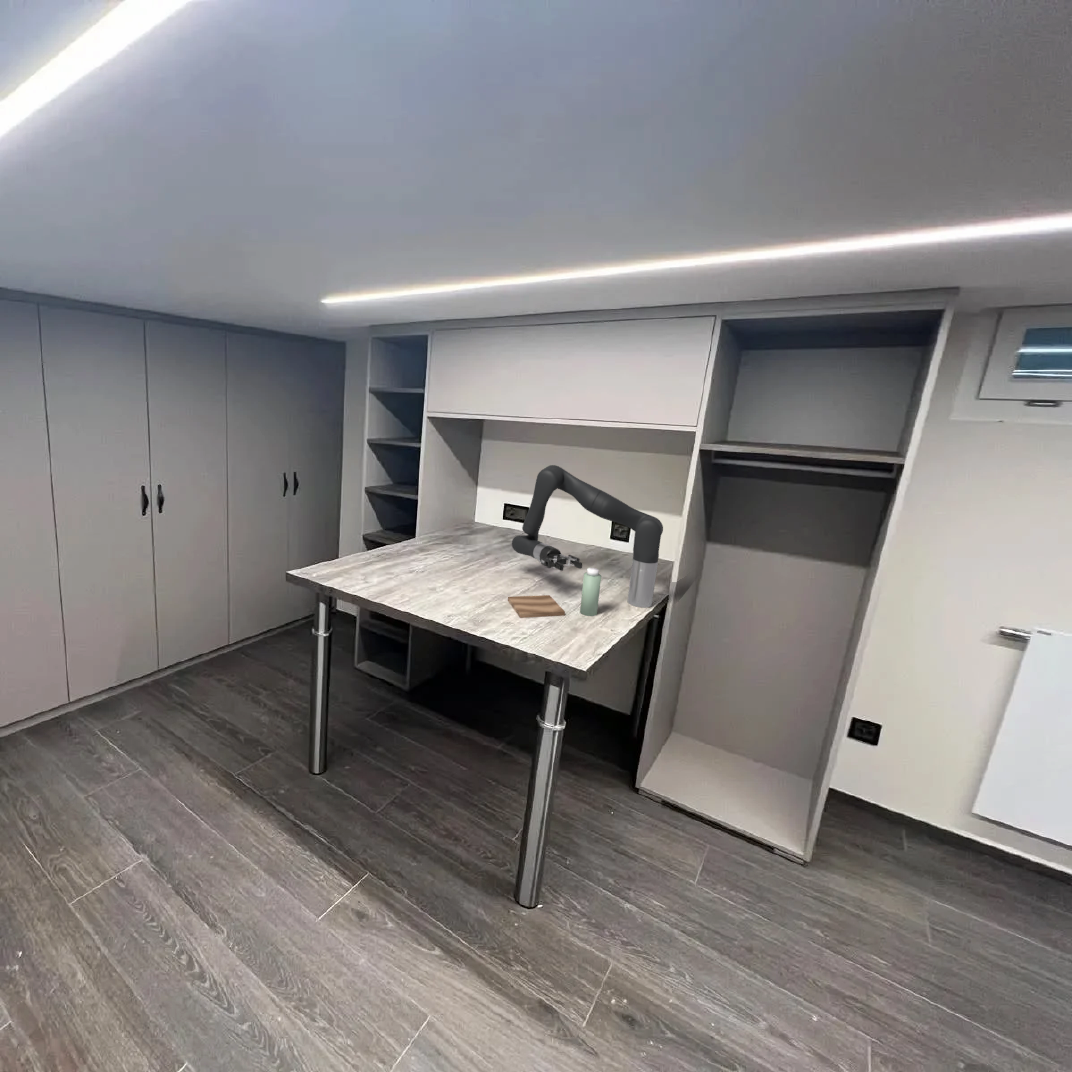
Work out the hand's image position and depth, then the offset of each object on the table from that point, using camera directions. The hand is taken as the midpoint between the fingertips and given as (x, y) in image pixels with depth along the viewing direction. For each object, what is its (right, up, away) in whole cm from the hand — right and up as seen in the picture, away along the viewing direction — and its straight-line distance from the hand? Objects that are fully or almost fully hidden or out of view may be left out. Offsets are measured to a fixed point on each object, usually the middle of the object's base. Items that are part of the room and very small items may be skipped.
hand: (572, 567), depth 182 cm
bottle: (+5, -16, -6) cm, 18 cm away
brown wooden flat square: (-13, -14, -5) cm, 20 cm away
